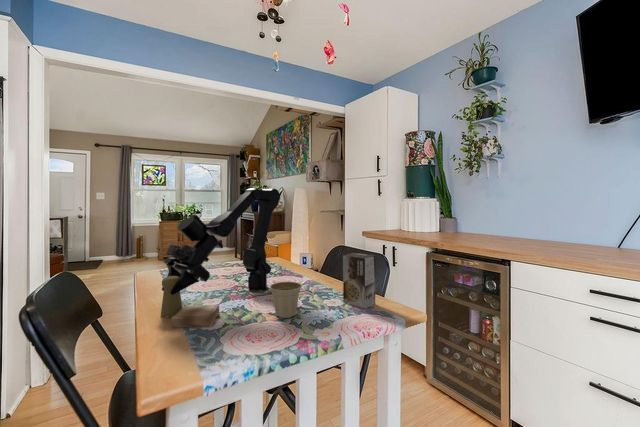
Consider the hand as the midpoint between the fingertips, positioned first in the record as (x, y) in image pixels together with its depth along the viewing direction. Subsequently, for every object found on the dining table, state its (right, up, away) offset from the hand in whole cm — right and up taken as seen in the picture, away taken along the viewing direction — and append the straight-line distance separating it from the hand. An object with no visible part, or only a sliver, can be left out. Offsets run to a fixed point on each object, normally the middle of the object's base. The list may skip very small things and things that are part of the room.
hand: (167, 292), depth 89 cm
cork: (+1, -7, +1) cm, 7 cm away
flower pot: (+35, -7, +1) cm, 36 cm away
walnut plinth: (+10, -7, -4) cm, 13 cm away
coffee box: (+58, -7, +11) cm, 60 cm away
